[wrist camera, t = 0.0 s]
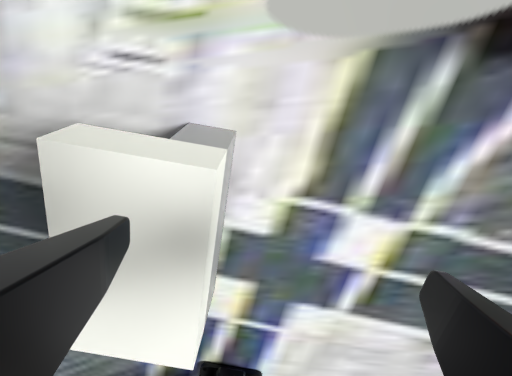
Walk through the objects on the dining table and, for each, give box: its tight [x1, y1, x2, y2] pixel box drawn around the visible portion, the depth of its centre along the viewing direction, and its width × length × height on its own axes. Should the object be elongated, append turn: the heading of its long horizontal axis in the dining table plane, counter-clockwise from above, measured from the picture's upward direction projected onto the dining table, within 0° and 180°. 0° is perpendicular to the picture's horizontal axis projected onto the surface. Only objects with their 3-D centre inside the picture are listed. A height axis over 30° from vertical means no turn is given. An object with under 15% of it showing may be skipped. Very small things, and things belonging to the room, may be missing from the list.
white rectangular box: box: [36, 123, 236, 370], centre depth 22 cm, size 15×9×8 cm, turn 171°
